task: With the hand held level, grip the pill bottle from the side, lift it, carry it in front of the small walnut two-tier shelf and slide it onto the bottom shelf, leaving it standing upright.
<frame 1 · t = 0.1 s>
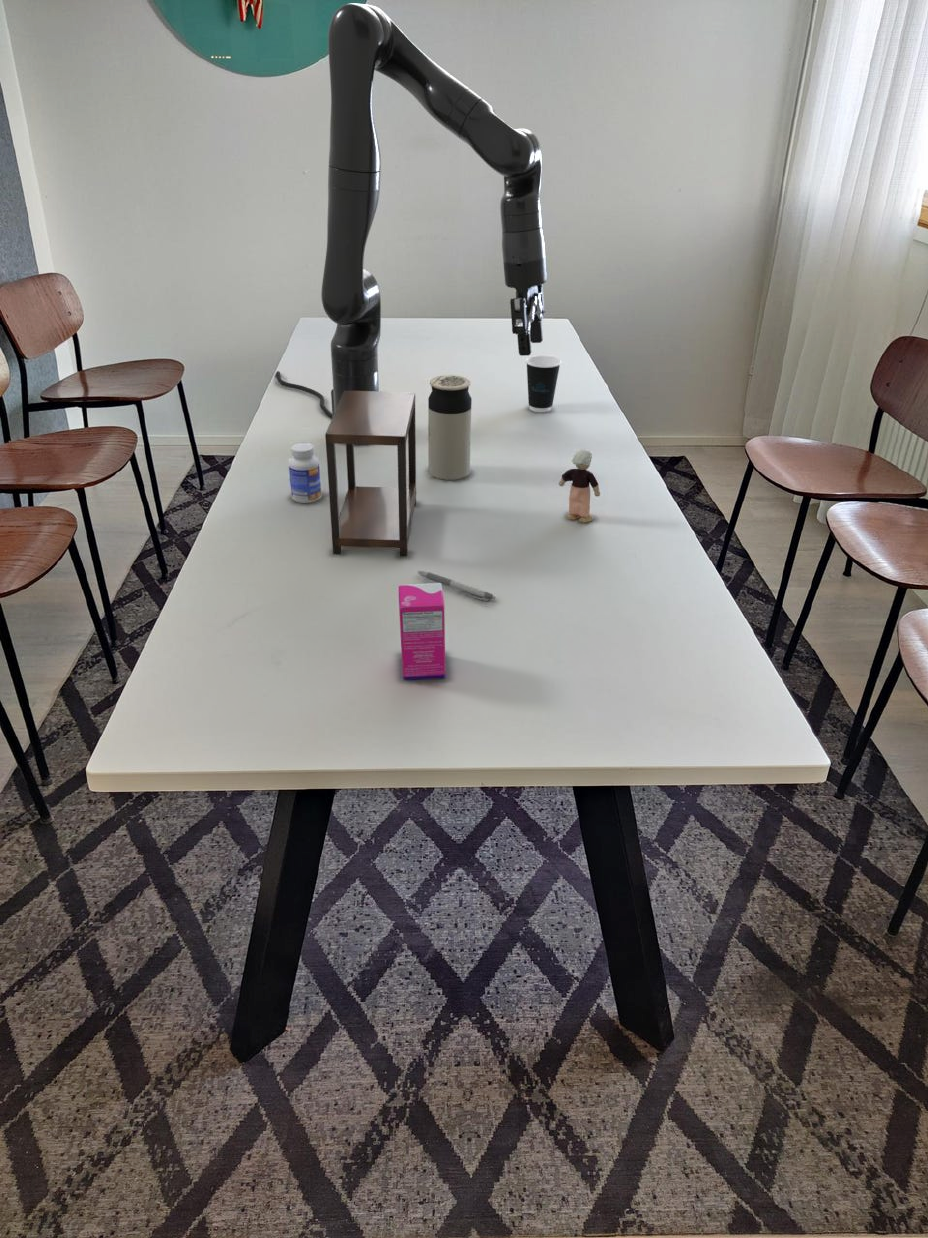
hand: (531, 348, 169), 22 cm above the table, tool pointing down, fingers open, 8 cm apart
travel mug: (449, 473, 176), on the table
supplement box: (422, 668, 122), on the table
pill bottle: (306, 498, 165), on the table
shelf: (376, 527, 156), on the table
pen: (455, 590, 139), on the table
dixie cup: (540, 409, 207), on the table
grandmother figurine: (576, 518, 161), on the table
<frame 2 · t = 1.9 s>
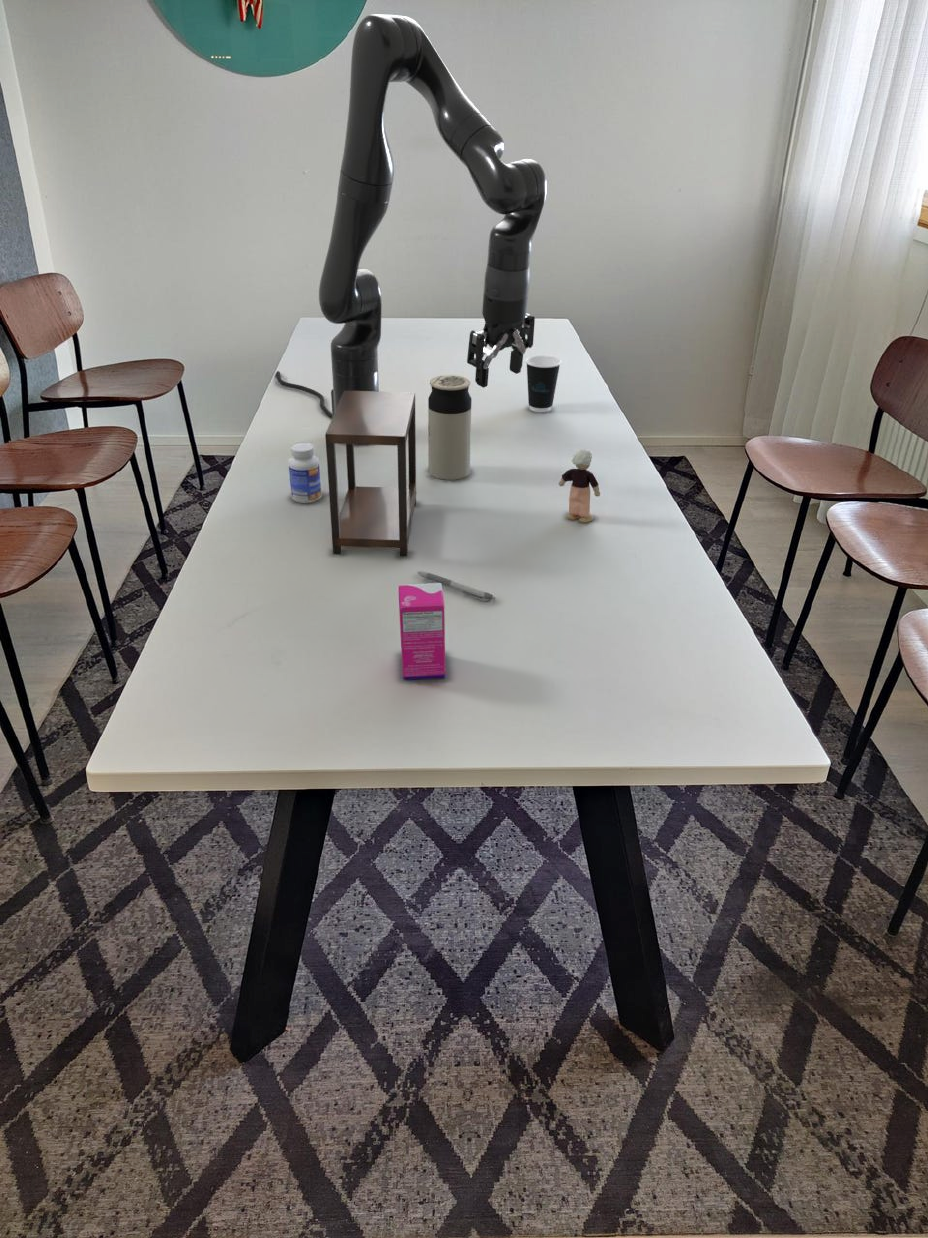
hand: (498, 378, 164), 19 cm above the table, tool pointing down, fingers open, 8 cm apart
nothing on the table moved.
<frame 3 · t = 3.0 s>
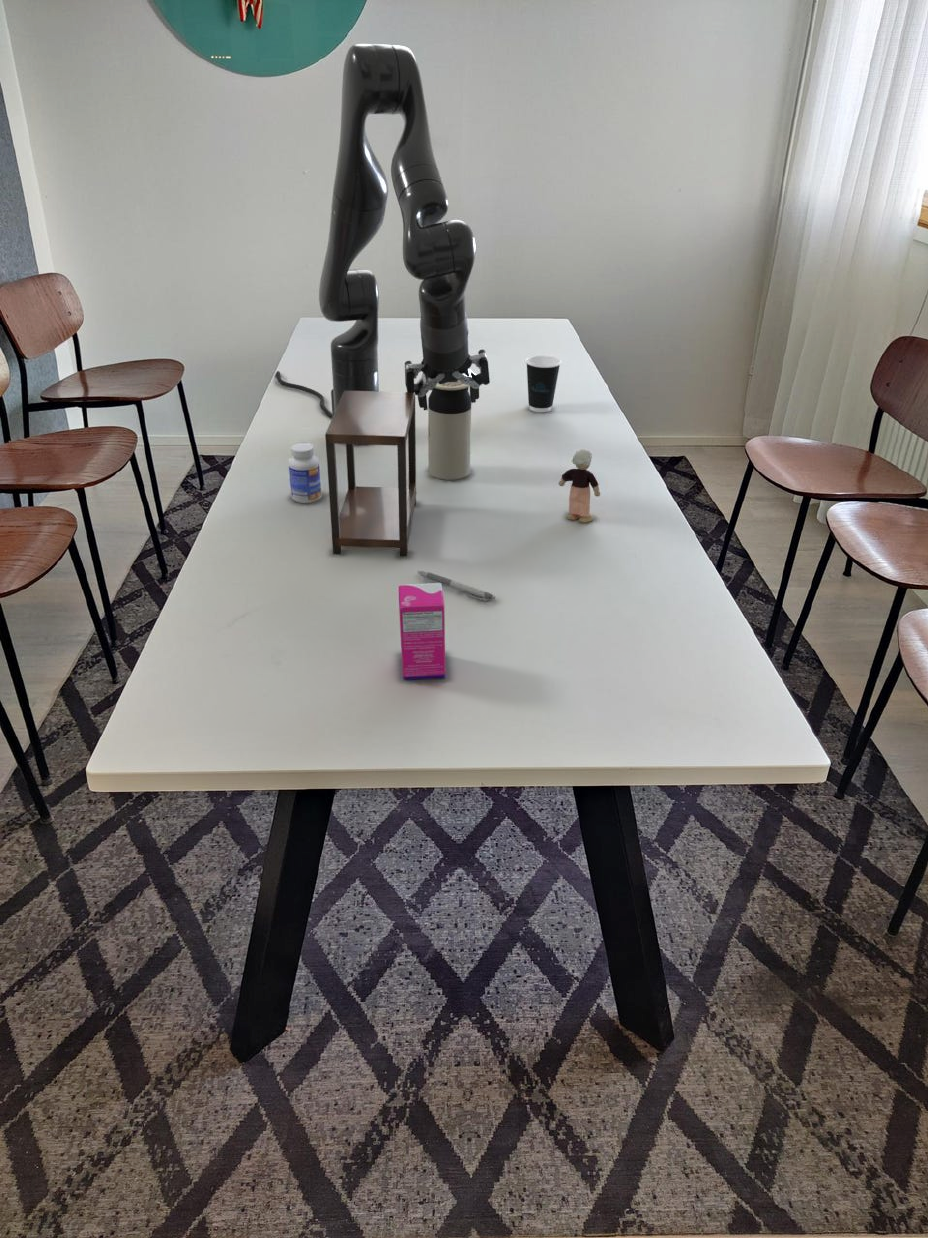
hand: (448, 402, 160), 17 cm above the table, tool tilted 30°, fingers open, 8 cm apart
nothing on the table moved.
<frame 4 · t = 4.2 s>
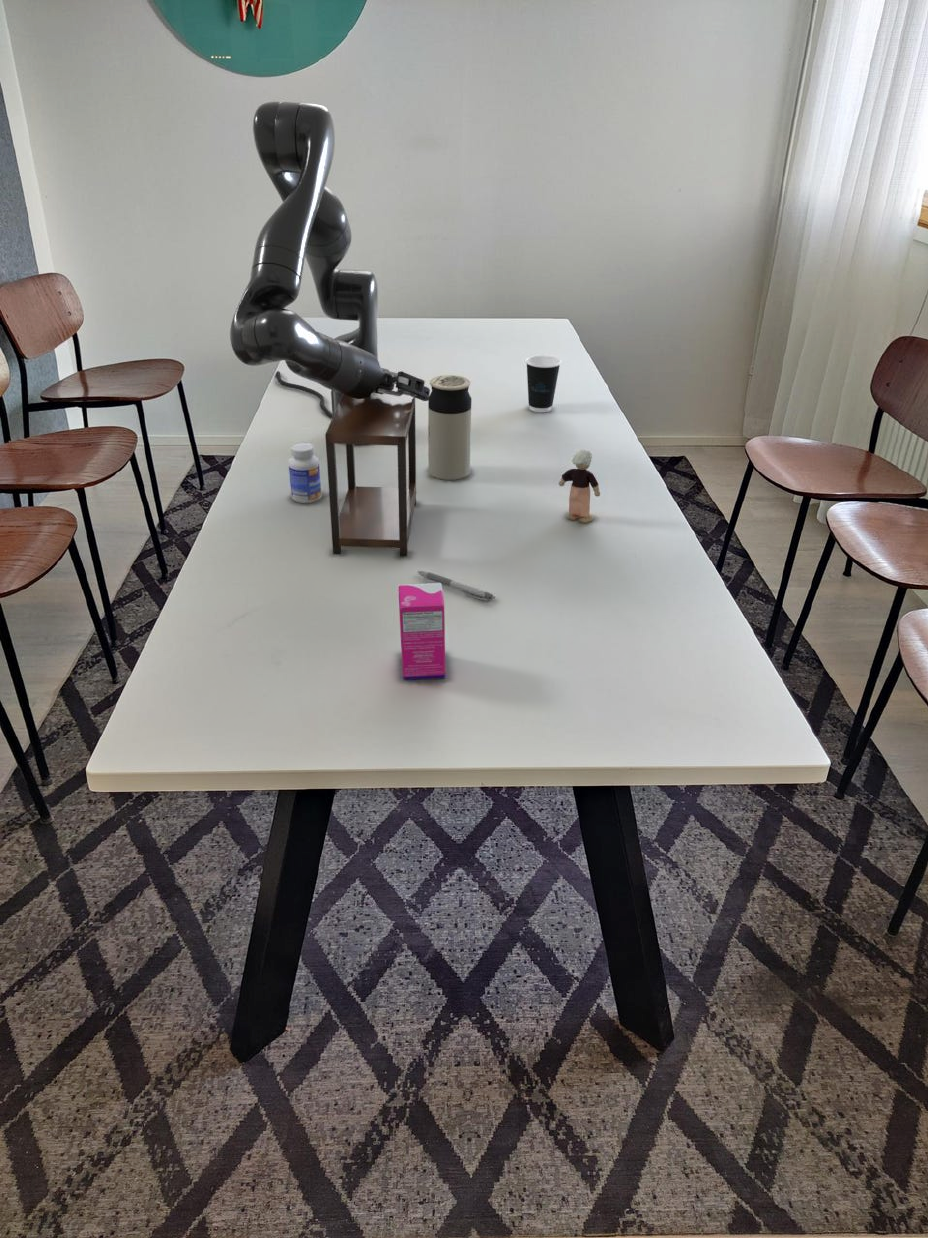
hand: (407, 394, 156), 19 cm above the table, tool tilted 60°, fingers open, 8 cm apart
nothing on the table moved.
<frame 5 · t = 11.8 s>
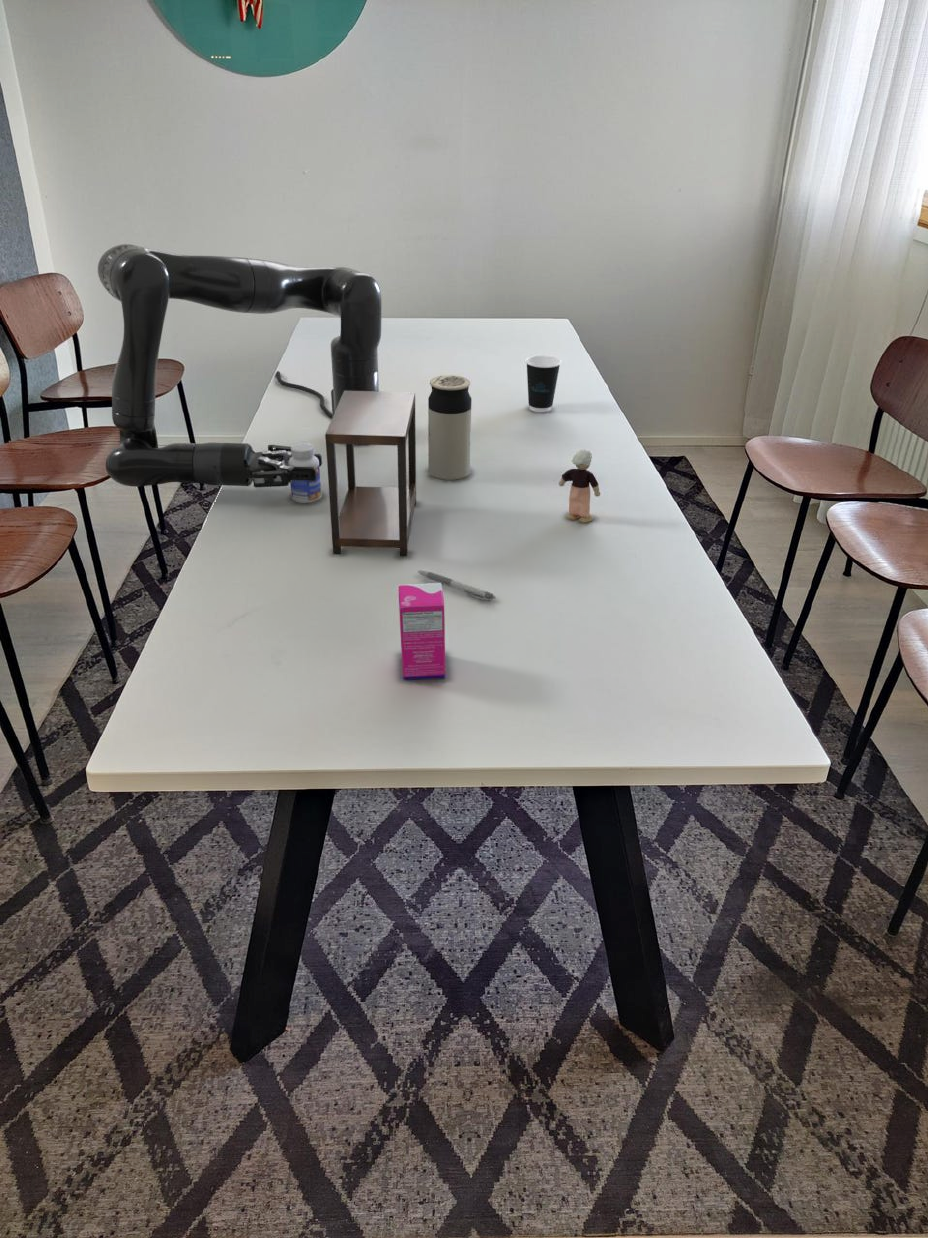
hand: (318, 466, 162), 6 cm above the table, tool horizontal, fingers closed on pill bottle, 5 cm apart
pill bottle: (306, 498, 165), on the table, touching gripper
everything else where it was.
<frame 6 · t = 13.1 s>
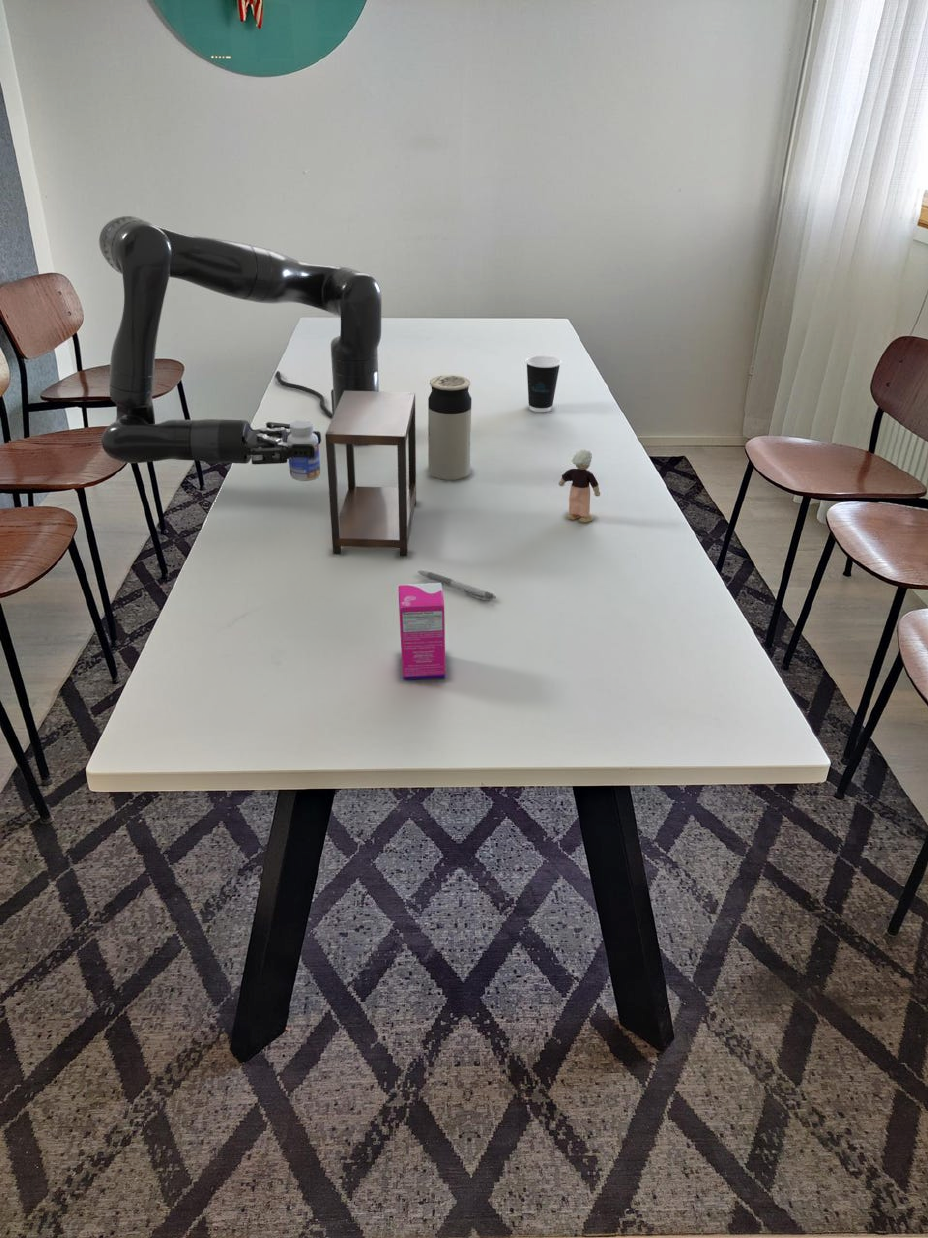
hand: (317, 444, 160), 10 cm above the table, tool horizontal, fingers closed on pill bottle, 5 cm apart
pill bottle: (305, 476, 163), point 4 cm above the table, touching gripper
everything else where it was.
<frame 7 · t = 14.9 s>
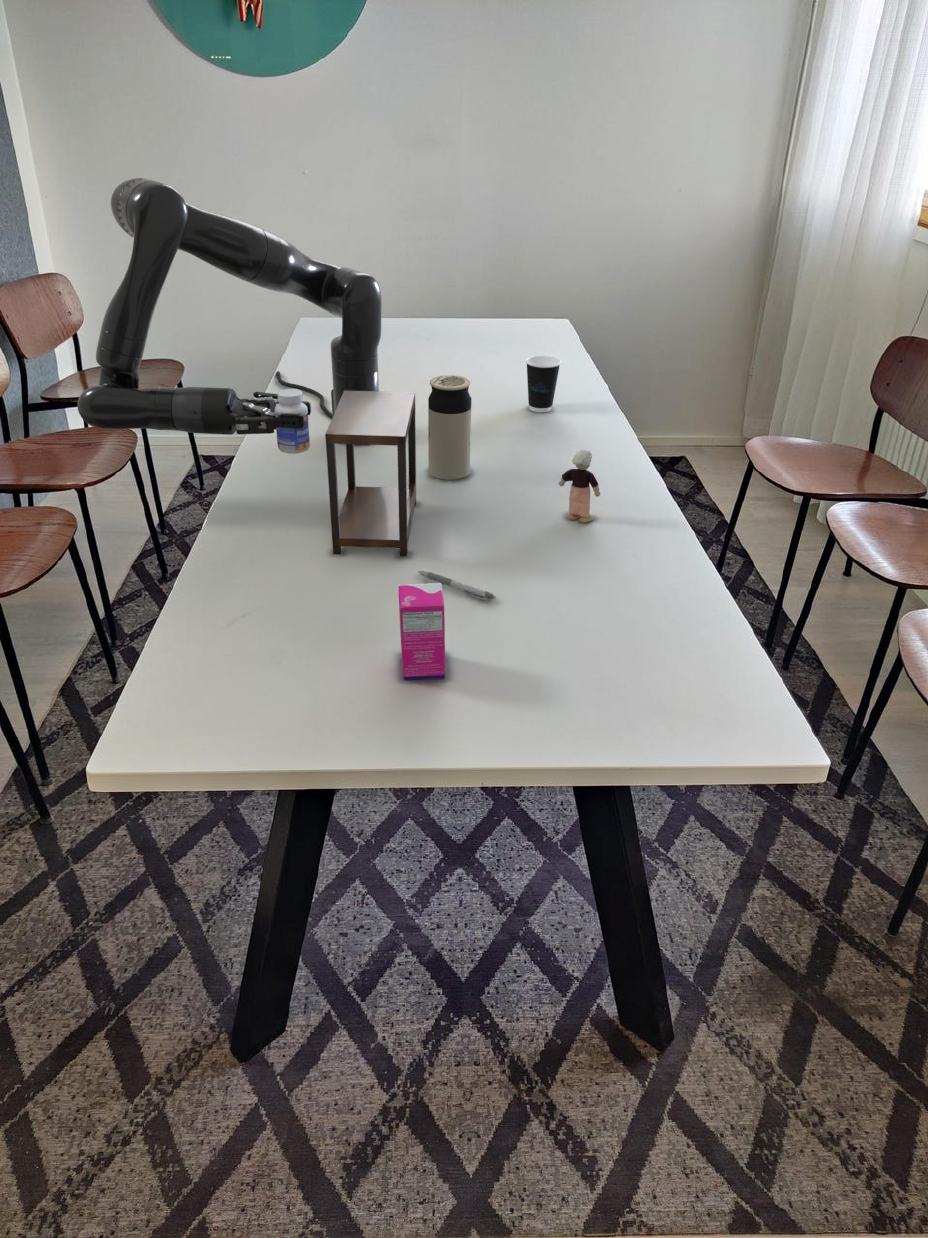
hand: (306, 414, 151), 18 cm above the table, tool horizontal, fingers closed on pill bottle, 5 cm apart
pill bottle: (294, 449, 154), point 12 cm above the table, touching gripper
everything else where it was.
when the fingers open (9 cm above the table, at t = 20.9 s): pill bottle stays where it is, resting on shelf.
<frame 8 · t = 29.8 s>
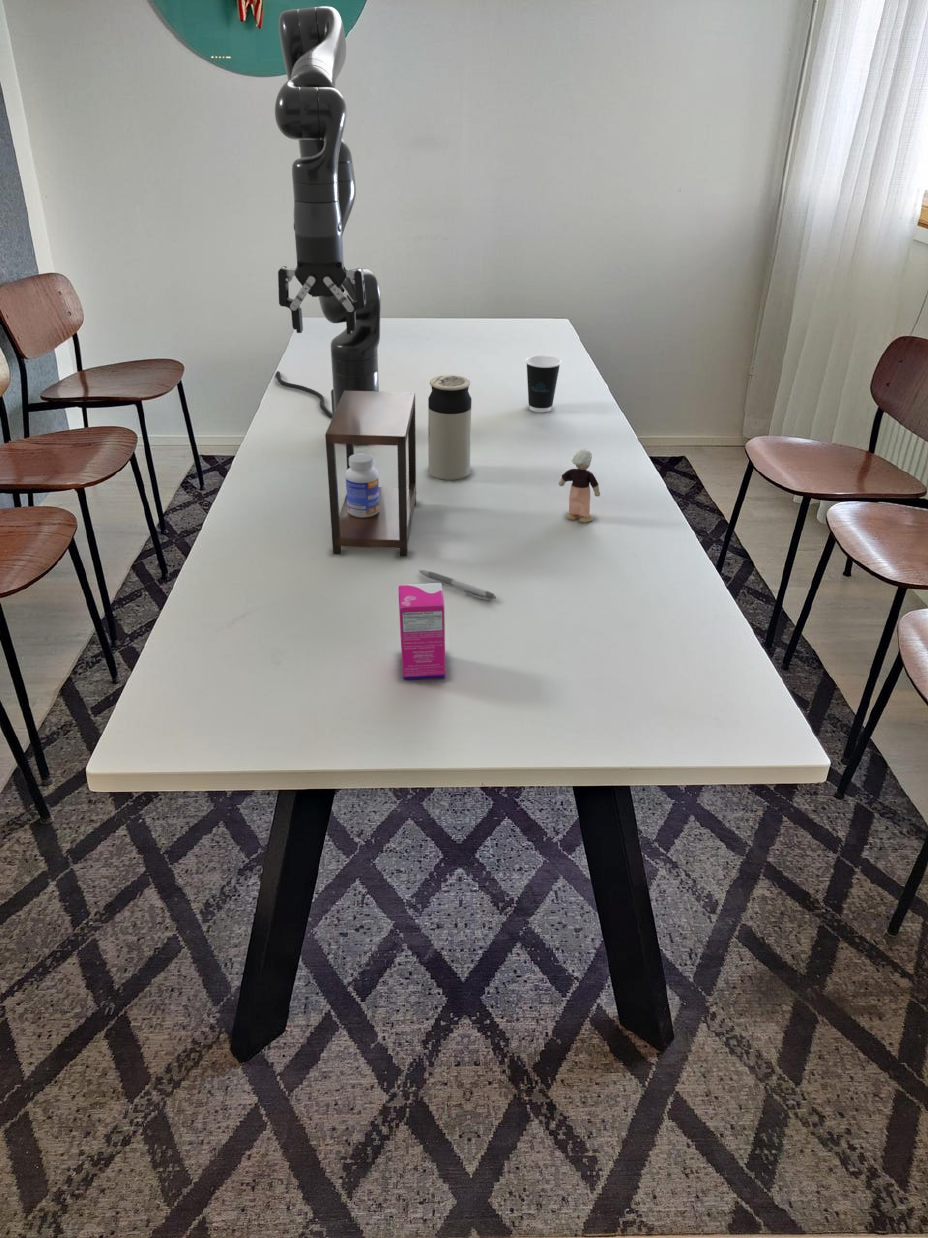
hand: (324, 332, 155), 28 cm above the table, tool pointing down, fingers open, 8 cm apart
pill bottle: (363, 512, 154), point 3 cm above the table, touching shelf
everything else where it was.
at the end: pill bottle inside the target area on the shelf (0.8 cm from its centre), point 2.8 cm above the shelf's base; pill bottle tilted 0°; the gripper is holding nothing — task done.
